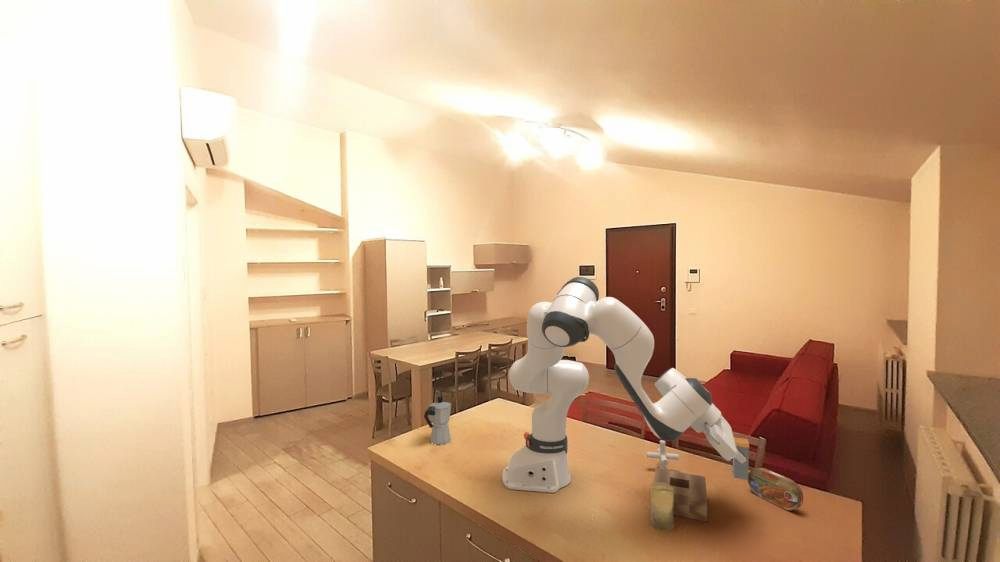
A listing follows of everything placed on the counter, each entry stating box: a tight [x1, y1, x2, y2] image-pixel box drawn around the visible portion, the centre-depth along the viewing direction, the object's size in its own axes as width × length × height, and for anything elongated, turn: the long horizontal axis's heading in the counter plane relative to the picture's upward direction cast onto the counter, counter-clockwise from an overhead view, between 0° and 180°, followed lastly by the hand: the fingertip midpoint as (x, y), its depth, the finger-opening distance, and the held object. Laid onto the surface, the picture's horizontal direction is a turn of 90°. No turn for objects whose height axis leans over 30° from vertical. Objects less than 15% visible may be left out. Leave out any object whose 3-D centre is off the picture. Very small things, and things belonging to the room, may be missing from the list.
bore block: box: [652, 467, 708, 522], centre depth 124 cm, size 14×14×6 cm
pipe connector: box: [646, 439, 680, 470], centre depth 144 cm, size 10×10×10 cm
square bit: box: [732, 436, 750, 481], centre depth 118 cm, size 4×4×10 cm
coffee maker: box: [423, 395, 452, 446], centre depth 170 cm, size 15×9×18 cm, turn 144°
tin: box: [747, 467, 804, 511], centre depth 124 cm, size 15×3×8 cm, turn 24°
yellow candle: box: [650, 482, 675, 531], centre depth 114 cm, size 6×6×10 cm
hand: (743, 457), depth 117 cm, fingers closed on square bit, 3 cm apart
